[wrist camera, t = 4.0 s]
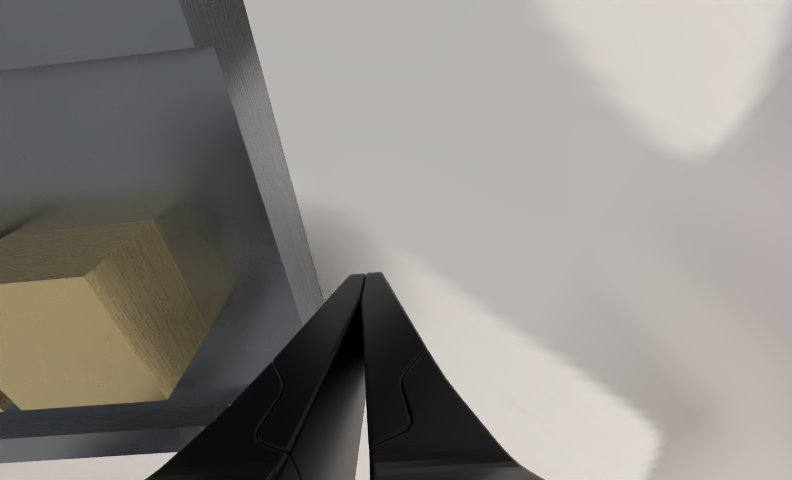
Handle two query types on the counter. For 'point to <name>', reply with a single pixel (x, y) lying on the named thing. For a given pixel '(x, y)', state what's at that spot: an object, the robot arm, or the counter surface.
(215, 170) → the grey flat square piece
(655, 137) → the counter surface
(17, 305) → the tan square block
